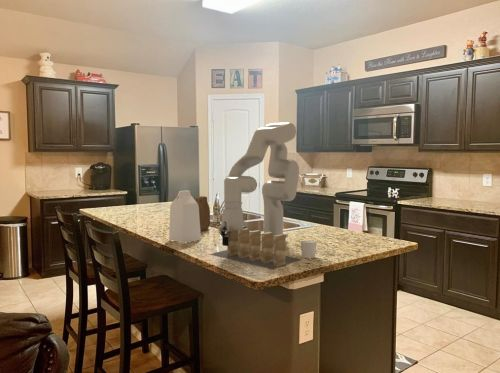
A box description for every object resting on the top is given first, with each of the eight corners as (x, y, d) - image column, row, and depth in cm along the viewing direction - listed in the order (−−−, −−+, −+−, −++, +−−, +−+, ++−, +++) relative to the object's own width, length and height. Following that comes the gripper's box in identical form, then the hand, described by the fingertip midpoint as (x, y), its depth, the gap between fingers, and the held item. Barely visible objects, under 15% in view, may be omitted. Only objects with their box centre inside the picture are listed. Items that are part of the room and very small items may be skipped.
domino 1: (238, 257, 176) (238, 229, 175) (246, 255, 180) (246, 228, 179) (241, 258, 175) (241, 230, 174) (249, 256, 179) (249, 228, 178)
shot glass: (301, 255, 182) (301, 239, 182) (317, 256, 180) (317, 240, 180) (299, 259, 176) (299, 243, 175) (315, 260, 174) (315, 244, 173)
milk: (182, 243, 207) (182, 192, 205) (169, 240, 214) (168, 191, 212) (201, 240, 216) (200, 190, 214) (187, 237, 223) (186, 189, 221)
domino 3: (261, 262, 168) (261, 233, 167) (269, 260, 171) (269, 231, 170) (265, 263, 166) (265, 234, 165) (272, 261, 170) (272, 232, 169)
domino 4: (273, 265, 163) (273, 235, 162) (281, 263, 167) (281, 233, 166) (277, 266, 162) (277, 236, 161) (285, 263, 166) (285, 234, 165)
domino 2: (249, 260, 172) (249, 231, 171) (257, 257, 176) (257, 230, 175) (253, 260, 171) (252, 232, 170) (260, 258, 174) (260, 230, 173)
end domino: (227, 255, 181) (227, 228, 180) (235, 253, 184) (235, 226, 183) (230, 255, 179) (230, 228, 178) (238, 253, 183) (238, 227, 182)
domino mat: (240, 248, 197) (240, 246, 197) (302, 260, 173) (302, 259, 173) (209, 255, 182) (209, 254, 182) (272, 270, 158) (272, 269, 158)
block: (198, 232, 238) (198, 197, 236) (189, 230, 242) (189, 196, 241) (211, 229, 246) (211, 196, 244) (203, 228, 251) (202, 195, 249)
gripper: (240, 202, 189) (240, 239, 190) (212, 206, 176) (212, 245, 178) (252, 204, 184) (252, 241, 185) (224, 208, 171) (225, 248, 173)
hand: (233, 243), depth 181 cm, fingers open, 9 cm apart
